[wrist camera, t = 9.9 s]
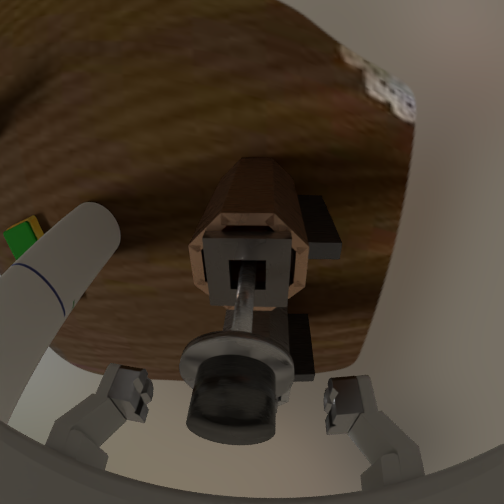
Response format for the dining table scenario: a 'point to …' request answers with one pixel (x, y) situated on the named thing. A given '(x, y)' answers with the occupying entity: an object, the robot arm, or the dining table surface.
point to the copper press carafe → (260, 235)
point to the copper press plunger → (236, 375)
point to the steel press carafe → (285, 339)
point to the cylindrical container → (48, 292)
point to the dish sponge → (23, 235)
